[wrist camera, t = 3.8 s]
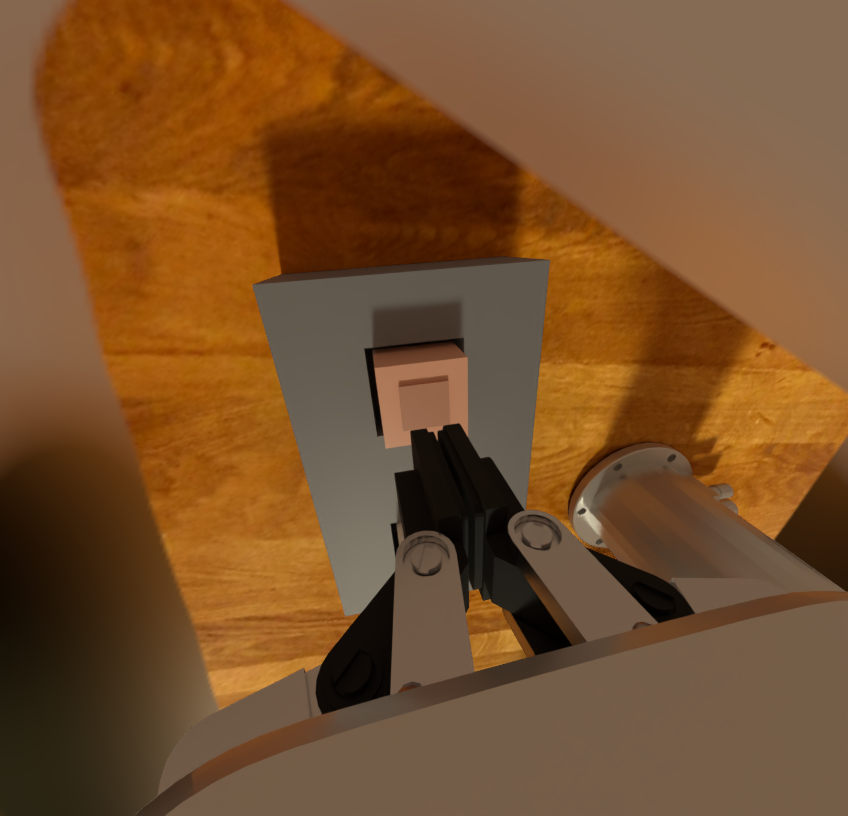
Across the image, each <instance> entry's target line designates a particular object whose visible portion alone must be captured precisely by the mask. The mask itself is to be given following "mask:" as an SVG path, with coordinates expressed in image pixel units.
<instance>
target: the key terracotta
mask: <svg viewBox="0 0 848 816" xmlns="http://www.w3.org/2000/svg"><path fill="white" fill-rule="evenodd" d="M372 351H373V360H374V369H375V376H376V383H377V390H378V397H379V405H380V412H381V419H382V426H383V433H384V440H385V448H386V449H387V448H394V447H401V446H407V445H411V436H410V431H411V430H418V429H424V428H427V430H428V432H434V434H435V436H436V438H437V441H438V435H437V433H438V431H439V430H443V426H444V425H450V424H457V423H460V425H461V426H462V428H463V430H464V431H465V433H466V435H467V436H468V357H467V356H466V355H465V354H464V353H463V352H462V351H461V350H460V349H459V348H458V347H457V346H456V345H455V344H454V342H453V341H448V342H439V343H430V344H421V345H412V346H403V347H394V348H385V349H376V350H372Z"/></svg>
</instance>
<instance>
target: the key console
mask: <svg viewBox="0 0 848 816" xmlns="http://www.w3.org/2000/svg"><path fill="white" fill-rule="evenodd" d="M549 264H550V260H544V259H530V258H517V257H491V258H479V259H466V260H454V261H442V262H429V263H417V264H404V265H392V266H379V267H367V268H355V269H342V270H330V271H317V272H305V273H292V274H281V275H278V276H275V277H273V278H270V279H267V280H264V281H261V282H259V283H256V284H253V289H254V292H255V296H256V299H257V303H258V307H259V310H260V314H261V317H262V321H263V324H264V328H265V331H266V335H267V339H268V342H269V346H270V349H271V353H272V356H273V360H274V364H275V367H276V371H277V374H278V378H279V381H280V385H281V388H282V392H283V396H284V399H285V403H286V406H287V410H288V413H289V417H290V421H291V424H292V428H293V431H294V435H295V438H296V442H297V445H298V449H299V453H300V456H301V460H302V463H303V467H304V470H305V474H306V478H307V481H308V485H309V488H310V492H311V495H312V499H313V502H314V506H315V510H316V513H317V517H318V520H319V524H320V527H321V531H322V535H323V538H324V542H325V545H326V549H327V552H328V556H329V559H330V563H331V567H332V570H333V574H334V577H335V581H336V584H337V588H338V592H339V595H340V599H341V602H342V606H343V609H344V613H345V616H349V615H354V614H359V613H362V611H363V610H364V609H365V608H366V606H367V605H368V604H369V603H370V601H371V600H372V599H373V598H374V596H375V595H376V594H377V593H378V592H379V590H380V589H381V588H382V587H383V585H384V584H385V583H386V582H387V580H388V579H389V578H390V577H391V575H392V574H393V573H394V572H395V561H396V553H397V549H398V547H399V540H398V532H397V524H396V523H397V522H401V518H400V512H399V506H398V499H397V492H396V484H395V476H394V473H397V472H402V471H408V470H414V468H413V457H412V447H411V445H407V446H401V447H394V448H387V449H386V448H385V440H384V433H383V426H382V419H381V412H380V405H379V397H378V390H377V383H376V376H375V369H374V360H373V351H372V350H376V349H385V348H394V347H403V346H412V345H421V344H430V343H439V342H448V341H453V342H454V344H455V345H456V346H457V347H458V348H459V349H460V350H461V351H462V352H463V353H464V354H465V355H466V356H467V357H468V438H469V440H470V442H471V443H472V445H473V447H474V448H475V450H476V452H477V453H478V455H479V457H480V458H484V457H490V458H491V459H492V460H493V461H494V463H495V464H496V466H497V468H498V469H499V471H500V472H501V474H502V475H503V477H504V479H505V480H506V482H507V483H508V485H509V486H510V488H511V490H512V491H513V493H514V494H515V496H516V497H517V499H518V501H519V502H520V504H521V505H522V507H523V508H524V510H525V511H526V500H527V490H528V480H529V470H530V459H531V449H532V439H533V428H534V418H535V408H536V397H537V387H538V377H539V367H540V356H541V346H542V336H543V325H544V315H545V305H546V294H547V284H548V274H549ZM470 590H473V589H472V587H471V584H470V581H469V591H470Z"/></svg>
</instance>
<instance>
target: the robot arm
mask: <svg viewBox="0 0 848 816" xmlns="http://www.w3.org/2000/svg"><path fill="white" fill-rule="evenodd" d="M437 435H438V441H437V438H436V436H435V434H434V432H428V430H427V428H424V429H418V430H411V431H410V436H411V447H412V457H413V468H414V470H408V471H402V472H397V473H394V476H395V484H396V492H397V499H398V506H399V512H400V518H401V524H402V529H403V535H404V540H403V541H402V542H401V544H400V546H399V547H398V549H397V553H396V561H395V572H394V573H393V574H392V575H391V577H390V578H389V579H388V580H387V582H386V583H385V584H384V585H383V587H382V588H381V589H380V590H379V592H378V593H377V594H376V595H375V596H374V598H373V599H372V600H371V601H370V603H369V604H368V605H367V606H366V608H365V609H364V610H363V611H362V613H361V614H360V615H359V616H358V618H357V619H356V620H355V621H354V623H353V624H352V625H351V626H350V627H349V629H348V630H347V631H346V632H345V634H344V635H343V636H342V637H341V639H340V640H339V641H338V642H337V644H336V645H335V646H334V647H333V649H332V650H331V651H330V652H329V654H328V655H327V657H326V658H325V660H324V661H323V663H322V664H321V665H319V666H317V667H315V668H313V669H311V670H309V671H307V672H305V670H304V668H303V669H301V670H299V671H297V672H295V673H293V674H291V675H289V676H287V677H285V678H283V679H281V680H279V681H277V682H275V683H273V684H271V685H269V686H267V687H265V688H263V689H261V690H259V691H257V692H255V693H253V694H251V695H249V696H247V697H245V698H243V699H241V700H239V701H237V702H235V703H233V704H231V705H229V706H227V707H226V708H224V709H222V710H220V711H218V712H216V713H214V714H212V715H210V716H208V717H206V718H204V719H203V720H202V721H200V722H199V723H197V724H196V725H194V726H193V727H191V728H190V730H189V731H188V732H187V733H186V734H185V735H184V736H183V737H182V738H181V740H180V741H179V742H178V743H177V745H176V746H175V748H174V750H173V751H172V753H171V755H170V756H169V758H168V760H167V761H166V765H165V768H164V771H163V774H162V777H161V780H160V785H159V792H158V796H157V797H156V798H155V799H154V800H152V801H151V802H150V803H148V804H147V805H146V806H144V807H143V808H142V809H141V810H140V811H139V812H138V813H137V814H136V815H135V816H848V592H846V591H844V590H843V589H841V588H840V587H838V586H837V585H836V584H834V583H833V582H831V581H830V580H829V579H827V578H826V577H824V576H823V575H822V574H820V573H819V572H817V571H816V570H815V569H813V568H812V567H810V566H809V565H808V564H806V563H805V562H803V561H802V560H801V559H799V558H798V557H796V556H795V555H793V554H792V553H791V552H789V551H788V550H787V549H785V548H784V547H782V546H781V545H780V544H778V543H777V542H775V541H774V540H773V539H771V538H770V537H768V536H767V535H766V534H764V533H763V532H761V531H760V530H759V529H757V528H756V527H754V526H753V525H752V524H750V523H749V522H747V521H746V520H745V519H743V518H742V517H740V516H739V515H738V508H737V506H736V505H735V504H734V503H733V502H732V501H731V500H729V499H727V498H729V497H732V496H733V492H734V491H733V489H732V487H731V486H730V485H729V484H726V483H720V484H715V485H710V486H708V487H707V486H706V485H705V484H703V483H702V482H700V481H699V480H697V479H696V478H694V477H693V476H692V469H691V465H690V463H689V461H688V460H687V458H686V457H685V456H684V455H682V454H681V453H680V452H678V451H677V450H675V449H674V448H672V447H670V446H668V445H665V444H661V443H642V444H636V445H633V446H630V447H626V448H623V449H621V450H619V451H617V452H615V453H613V454H611V455H609V456H608V457H606V458H605V459H603V460H602V461H600V462H599V463H598V464H597V465H596V466H594V467H593V468H592V469H591V470H590V471H589V472H588V473H587V474H586V475H585V477H584V478H583V479H582V480H581V482H580V483H579V485H578V486H577V488H576V489H575V491H574V494H573V496H572V498H571V501H570V506H569V520H570V524H571V526H572V528H573V529H574V531H575V532H576V533H577V535H578V536H579V537H580V538H581V539H582V540H583V541H584V542H586V543H588V544H590V545H592V546H596V547H604V548H609V550H610V551H611V552H612V553H613V555H614V556H615V557H616V558H617V559H618V560H616V559H613V558H611V557H608V556H606V555H603V554H601V553H598V552H596V551H593V550H591V549H588V548H586V547H584V546H583V545H582V543H581V542H580V541H579V540H578V539H577V538H576V537H575V536H574V535H573V534H572V533H571V532H570V531H569V530H568V529H567V528H566V527H565V526H564V525H563V524H562V523H561V522H560V521H559V520H558V519H556V518H555V517H554V516H552V515H550V514H548V513H545V512H541V511H537V510H526V511H525V510H524V508H523V507H522V505H521V504H520V502H519V501H518V499H517V497H516V496H515V494H514V493H513V491H512V490H511V488H510V486H509V485H508V483H507V482H506V480H505V479H504V477H503V475H502V474H501V472H500V471H499V469H498V468H497V466H496V464H495V463H494V461H493V460H492V459H491V458H490V457H484V458H480V457H479V455H478V453H477V452H476V450H475V448H474V447H473V445H472V443H471V442H470V440H469V438H468V436H467V435H466V433H465V431H464V430H463V428H462V426H461V425H460V423H457V424H450V425H444V426H443V430H439V431H438V433H437ZM469 581H470V584H471V587H472V589H473V590H476V589H479V591H480V594H481V596H482V599H483V601H484V600H488V599H491V601H492V602H493V603H494V604H496V605H498V606H500V607H502V612H503V614H504V617H505V619H506V621H507V623H508V624H509V626H510V628H511V630H512V631H513V633H514V635H515V637H516V638H517V640H518V642H519V644H520V646H521V647H522V649H523V651H524V653H525V654H526V656H527V658H525V659H521V660H518V661H514V662H510V663H506V664H503V665H499V666H495V667H491V668H488V669H484V670H480V671H477V672H474V666H473V659H472V652H471V646H470V639H469V633H468V626H467V620H466V612H467V610H468V608H469Z"/></svg>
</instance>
